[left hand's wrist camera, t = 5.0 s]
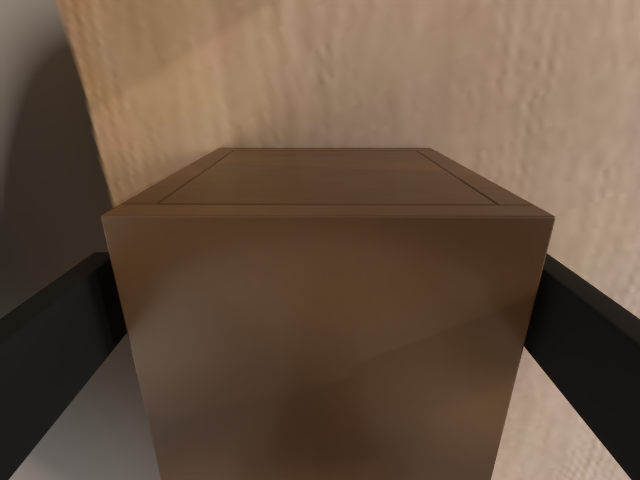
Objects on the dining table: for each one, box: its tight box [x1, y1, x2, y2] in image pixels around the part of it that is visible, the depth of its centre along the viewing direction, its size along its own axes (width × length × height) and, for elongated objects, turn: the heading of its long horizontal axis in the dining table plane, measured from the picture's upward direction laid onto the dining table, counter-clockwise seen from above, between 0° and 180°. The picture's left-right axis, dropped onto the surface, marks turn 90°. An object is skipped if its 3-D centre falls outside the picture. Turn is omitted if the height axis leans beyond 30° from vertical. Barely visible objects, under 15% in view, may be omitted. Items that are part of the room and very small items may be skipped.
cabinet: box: [101, 148, 555, 480], centre depth 18 cm, size 17×11×12 cm, turn 0°
